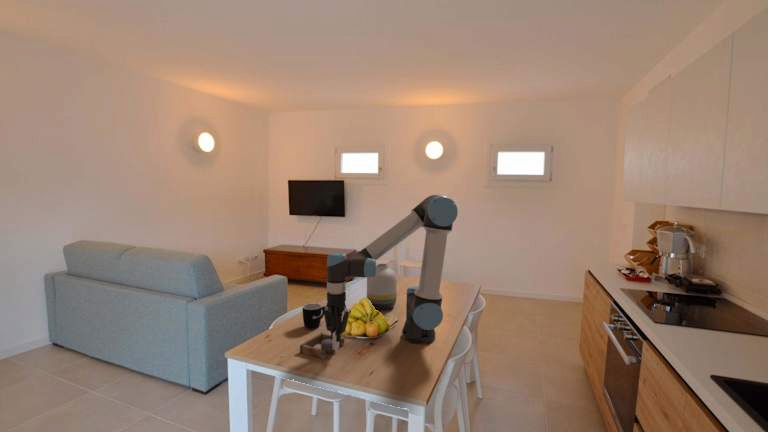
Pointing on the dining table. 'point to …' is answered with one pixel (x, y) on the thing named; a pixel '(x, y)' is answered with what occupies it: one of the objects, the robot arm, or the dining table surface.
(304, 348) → the corral
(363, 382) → the dining table surface
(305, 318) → the mug
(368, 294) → the vase
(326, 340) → the puck
